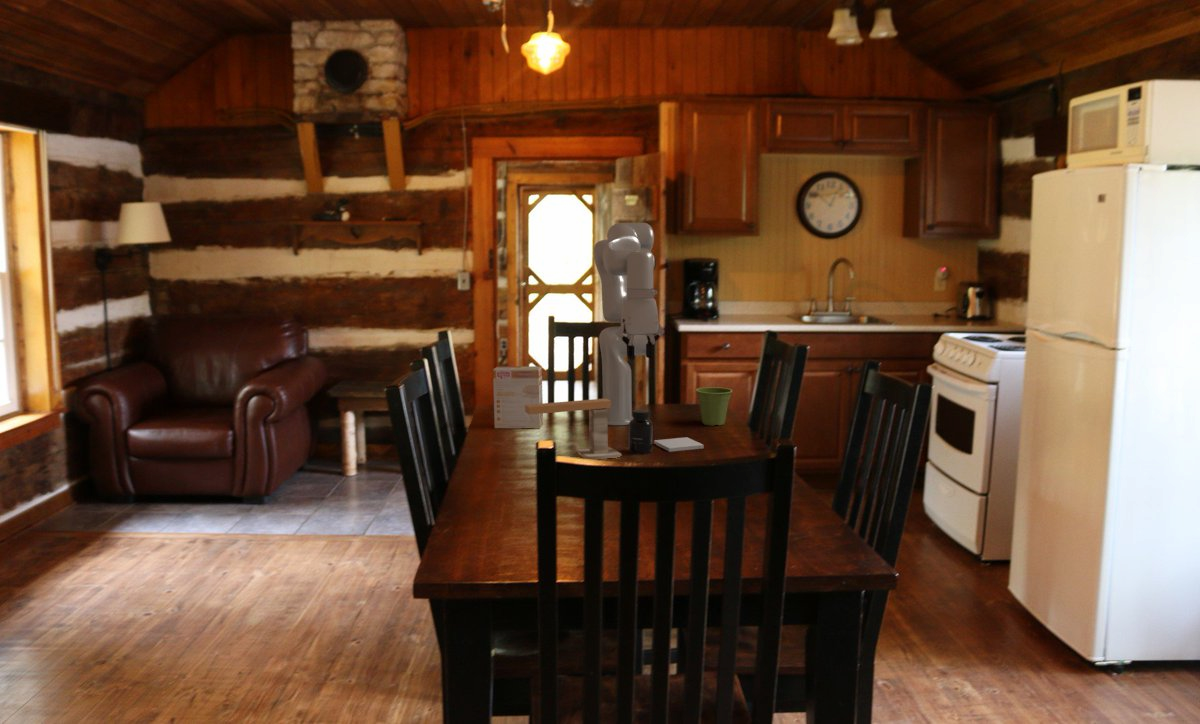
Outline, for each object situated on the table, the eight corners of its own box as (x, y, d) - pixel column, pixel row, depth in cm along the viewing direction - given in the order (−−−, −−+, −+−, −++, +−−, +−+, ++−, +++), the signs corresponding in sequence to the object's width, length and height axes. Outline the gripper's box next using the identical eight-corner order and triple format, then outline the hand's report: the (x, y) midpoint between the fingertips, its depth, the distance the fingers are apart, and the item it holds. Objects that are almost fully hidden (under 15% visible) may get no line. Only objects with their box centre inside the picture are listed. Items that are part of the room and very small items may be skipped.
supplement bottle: (632, 455, 283) (632, 413, 281) (625, 449, 289) (625, 409, 287) (655, 453, 284) (655, 412, 283) (648, 448, 291) (648, 408, 289)
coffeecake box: (543, 424, 325) (542, 365, 322) (540, 429, 318) (538, 369, 315) (498, 424, 326) (497, 365, 324) (494, 428, 319) (492, 369, 317)
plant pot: (730, 428, 317) (731, 393, 315) (693, 427, 319) (693, 392, 317) (733, 420, 328) (733, 387, 327) (697, 419, 331) (697, 386, 329)
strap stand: (576, 453, 285) (575, 406, 283) (608, 450, 289) (608, 404, 287) (588, 461, 276) (587, 413, 274) (621, 457, 279) (621, 410, 277)
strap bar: (525, 411, 275) (524, 404, 274) (605, 405, 283) (605, 398, 283) (529, 414, 271) (529, 407, 271) (610, 407, 279) (610, 400, 279)
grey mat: (653, 443, 296) (653, 440, 296) (687, 440, 300) (687, 437, 300) (669, 451, 286) (669, 448, 286) (703, 448, 290) (703, 444, 290)
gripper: (662, 292, 286) (662, 355, 289) (607, 295, 281) (607, 358, 283) (673, 294, 279) (673, 358, 282) (617, 296, 274) (617, 362, 276)
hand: (640, 357), depth 283 cm, fingers open, 4 cm apart
